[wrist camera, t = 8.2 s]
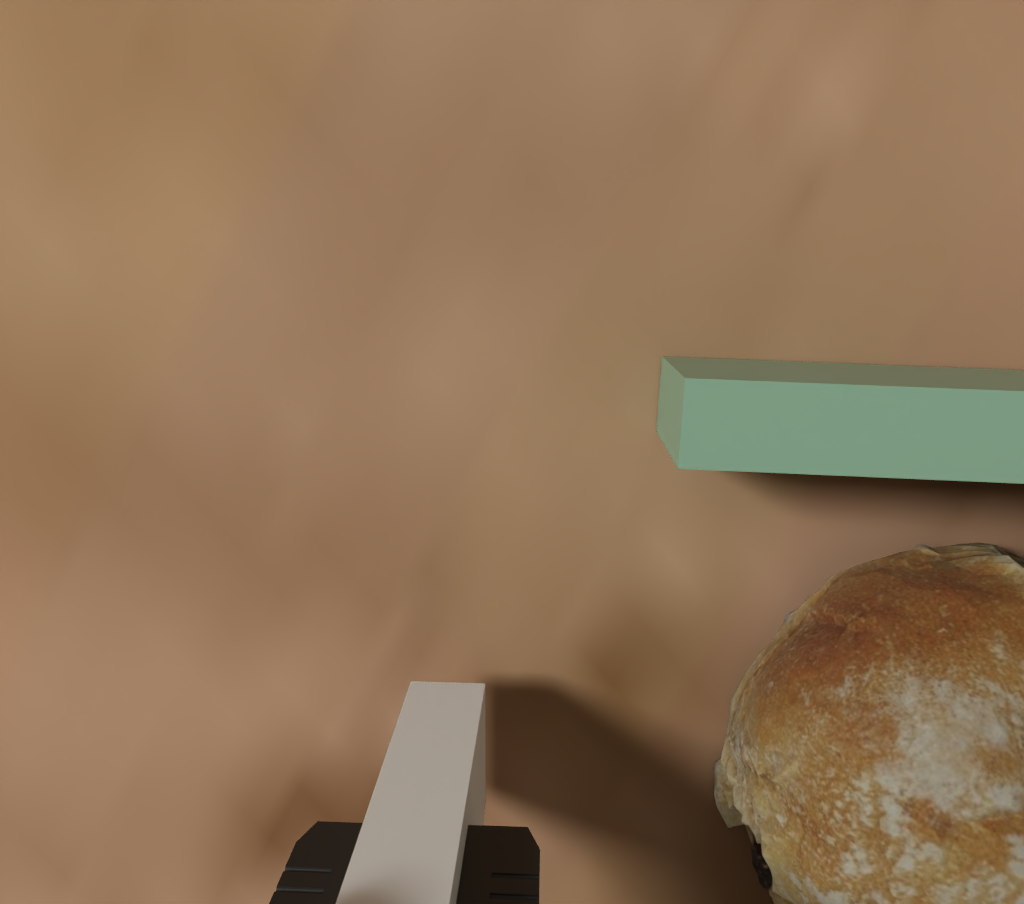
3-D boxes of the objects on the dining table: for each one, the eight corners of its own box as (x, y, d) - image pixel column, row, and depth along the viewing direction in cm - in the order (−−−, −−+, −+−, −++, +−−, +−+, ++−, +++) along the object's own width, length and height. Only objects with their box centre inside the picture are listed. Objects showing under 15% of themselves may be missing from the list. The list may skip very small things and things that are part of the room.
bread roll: (681, 558, 21) (568, 794, 15) (1165, 406, 15) (1329, 684, 9) (854, 855, 23) (821, 1185, 16) (1347, 819, 17) (1599, 1305, 11)
